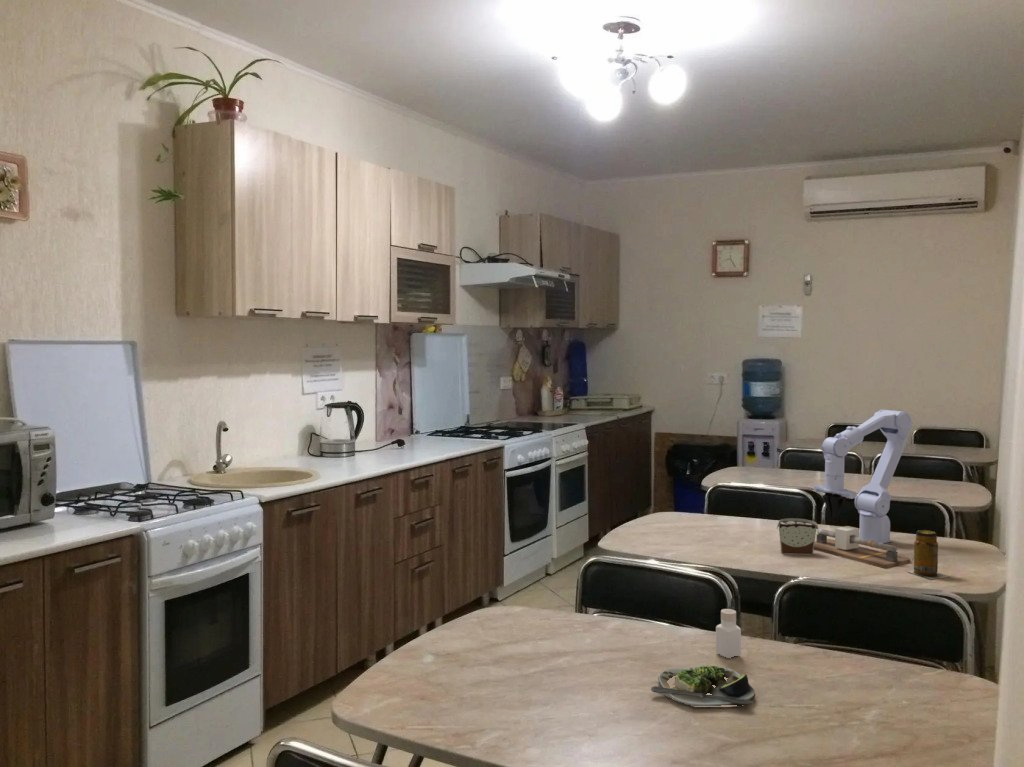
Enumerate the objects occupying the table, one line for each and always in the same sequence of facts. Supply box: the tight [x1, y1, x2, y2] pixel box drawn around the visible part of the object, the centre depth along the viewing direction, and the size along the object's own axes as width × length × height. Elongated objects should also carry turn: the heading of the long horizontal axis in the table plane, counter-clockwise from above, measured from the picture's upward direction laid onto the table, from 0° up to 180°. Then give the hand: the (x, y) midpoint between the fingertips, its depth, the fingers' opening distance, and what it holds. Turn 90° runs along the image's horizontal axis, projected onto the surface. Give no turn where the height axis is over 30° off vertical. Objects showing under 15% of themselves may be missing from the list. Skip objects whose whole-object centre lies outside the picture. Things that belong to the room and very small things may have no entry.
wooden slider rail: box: [813, 527, 911, 569], centre depth 254 cm, size 12×29×6 cm, turn 30°
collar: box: [834, 525, 860, 550], centre depth 256 cm, size 6×4×6 cm, turn 120°
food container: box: [776, 518, 819, 556], centre depth 257 cm, size 12×6×10 cm, turn 83°
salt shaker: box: [715, 608, 742, 659], centre depth 174 cm, size 4×4×10 cm
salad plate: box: [650, 664, 756, 707], centre depth 156 cm, size 19×18×5 cm
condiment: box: [906, 529, 950, 580], centre depth 232 cm, size 7×8×12 cm
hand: (833, 517), depth 263 cm, fingers closed
